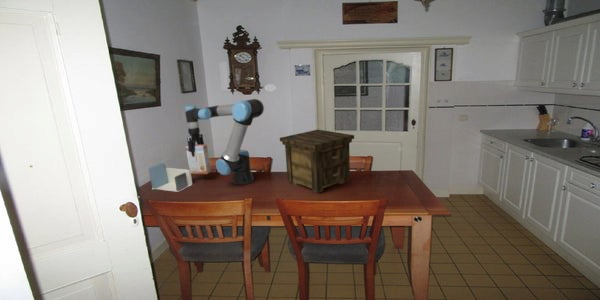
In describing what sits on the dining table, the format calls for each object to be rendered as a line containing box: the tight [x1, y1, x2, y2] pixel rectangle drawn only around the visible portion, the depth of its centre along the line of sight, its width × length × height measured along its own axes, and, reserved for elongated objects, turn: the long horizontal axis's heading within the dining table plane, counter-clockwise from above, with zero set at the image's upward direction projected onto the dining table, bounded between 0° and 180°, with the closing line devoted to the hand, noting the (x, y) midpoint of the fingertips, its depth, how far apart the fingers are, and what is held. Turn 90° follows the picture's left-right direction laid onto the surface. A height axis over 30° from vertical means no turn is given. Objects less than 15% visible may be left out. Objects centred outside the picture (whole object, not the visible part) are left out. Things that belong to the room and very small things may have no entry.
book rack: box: [148, 163, 193, 192], centre depth 214 cm, size 24×14×16 cm, turn 67°
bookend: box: [175, 173, 189, 192], centre depth 209 cm, size 2×9×10 cm, turn 157°
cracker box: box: [185, 143, 212, 175], centre depth 220 cm, size 14×6×21 cm, turn 76°
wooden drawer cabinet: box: [279, 129, 355, 194], centre depth 206 cm, size 35×35×33 cm
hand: (198, 159), depth 220 cm, fingers closed on cracker box, 6 cm apart
